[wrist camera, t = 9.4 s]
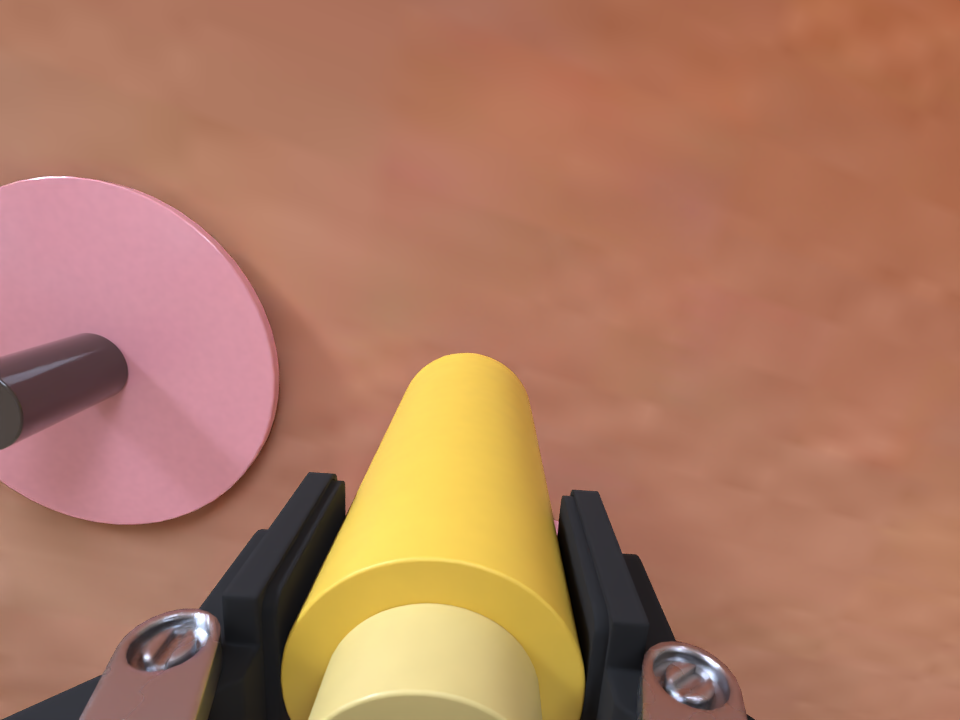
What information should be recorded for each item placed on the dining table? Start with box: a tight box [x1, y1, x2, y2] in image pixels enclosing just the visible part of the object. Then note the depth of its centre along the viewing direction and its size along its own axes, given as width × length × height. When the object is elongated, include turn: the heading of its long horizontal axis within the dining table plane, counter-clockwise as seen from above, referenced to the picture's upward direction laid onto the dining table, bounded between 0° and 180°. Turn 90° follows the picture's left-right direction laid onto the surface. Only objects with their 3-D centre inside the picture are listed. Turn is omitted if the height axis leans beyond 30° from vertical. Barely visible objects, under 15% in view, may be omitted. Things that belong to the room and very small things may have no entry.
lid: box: [0, 177, 279, 525], centre depth 18 cm, size 14×14×6 cm
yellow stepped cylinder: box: [281, 353, 586, 720], centre depth 13 cm, size 5×5×13 cm
